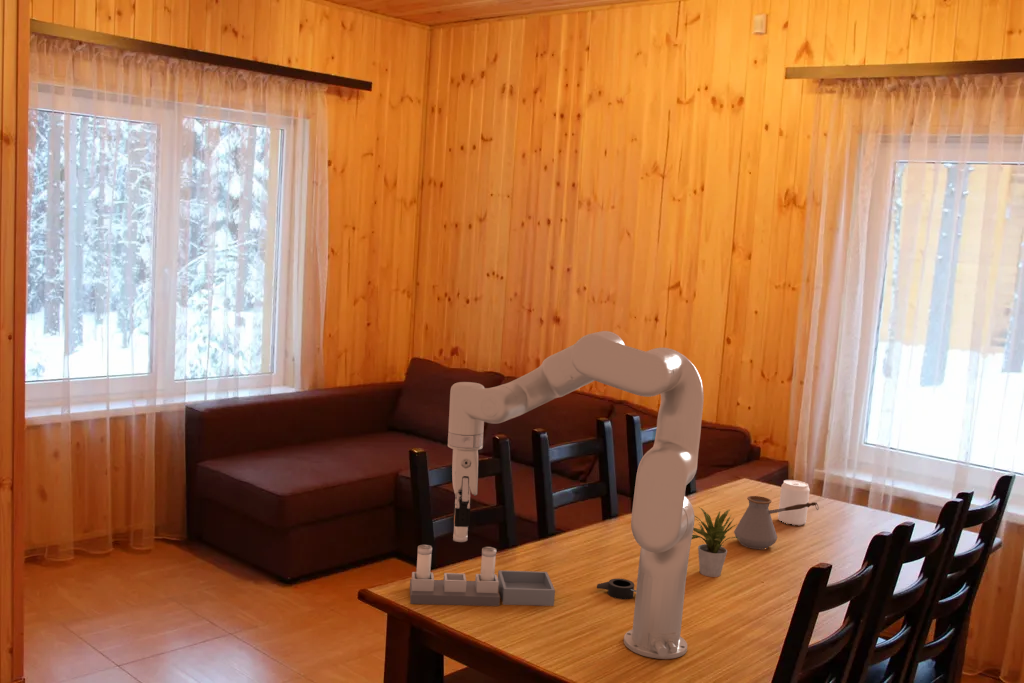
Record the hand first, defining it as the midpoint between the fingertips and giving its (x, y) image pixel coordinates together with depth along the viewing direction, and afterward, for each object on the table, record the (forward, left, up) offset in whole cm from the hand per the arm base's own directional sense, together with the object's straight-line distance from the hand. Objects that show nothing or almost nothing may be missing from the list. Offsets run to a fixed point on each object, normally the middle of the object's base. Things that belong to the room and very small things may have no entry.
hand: (461, 522), depth 211 cm
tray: (+2, -16, -17) cm, 23 cm away
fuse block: (0, 0, -17) cm, 17 cm away
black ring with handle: (+4, -38, -17) cm, 42 cm away
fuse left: (0, +7, -15) cm, 17 cm away
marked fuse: (0, 0, -4) cm, 4 cm away
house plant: (+21, -65, -17) cm, 70 cm away
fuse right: (0, -7, -15) cm, 16 cm away
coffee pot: (+40, -89, -17) cm, 99 cm away
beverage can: (+65, -105, -17) cm, 124 cm away
